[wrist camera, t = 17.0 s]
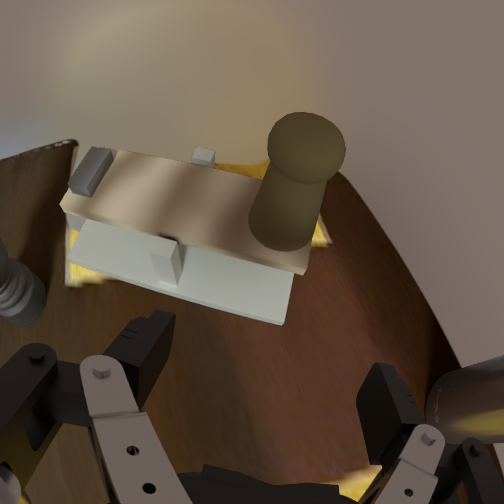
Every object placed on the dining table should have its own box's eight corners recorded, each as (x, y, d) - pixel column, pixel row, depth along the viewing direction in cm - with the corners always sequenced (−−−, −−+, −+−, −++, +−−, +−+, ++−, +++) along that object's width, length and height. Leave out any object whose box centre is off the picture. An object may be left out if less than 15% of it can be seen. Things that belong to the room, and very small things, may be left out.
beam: (312, 208, 33) (323, 184, 29) (300, 278, 29) (312, 259, 25) (101, 160, 33) (93, 135, 30) (67, 216, 29) (53, 194, 26)
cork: (255, 187, 30) (273, 91, 20) (318, 203, 30) (357, 114, 20) (240, 242, 27) (255, 146, 18) (310, 259, 27) (358, 174, 17)
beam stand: (303, 214, 39) (321, 173, 32) (281, 325, 32) (301, 301, 25) (120, 169, 39) (109, 126, 32) (70, 262, 32) (43, 227, 25)
